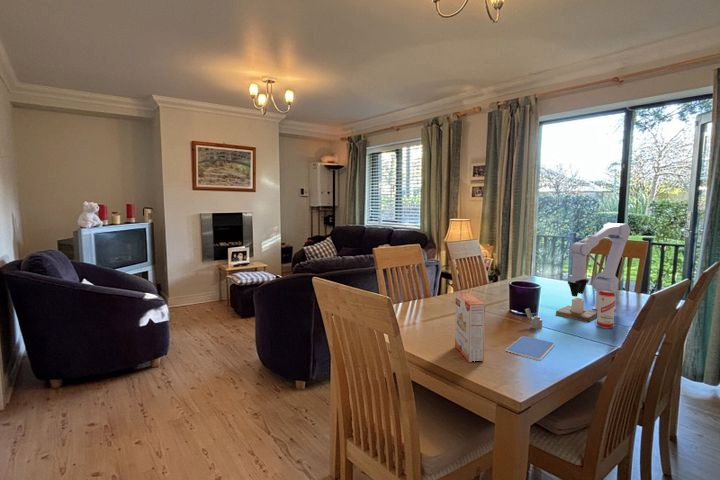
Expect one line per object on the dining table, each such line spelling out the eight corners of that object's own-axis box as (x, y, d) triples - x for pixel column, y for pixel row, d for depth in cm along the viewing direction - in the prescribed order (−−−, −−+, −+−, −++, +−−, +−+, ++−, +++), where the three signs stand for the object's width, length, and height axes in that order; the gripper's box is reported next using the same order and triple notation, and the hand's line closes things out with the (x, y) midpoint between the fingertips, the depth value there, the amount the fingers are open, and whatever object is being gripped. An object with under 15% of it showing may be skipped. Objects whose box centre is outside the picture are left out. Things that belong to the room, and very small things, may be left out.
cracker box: (453, 347, 143) (455, 293, 140) (469, 346, 143) (470, 293, 141) (467, 363, 129) (468, 303, 127) (484, 362, 129) (486, 303, 127)
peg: (574, 313, 184) (575, 297, 183) (583, 315, 180) (584, 299, 180) (571, 315, 181) (572, 299, 180) (580, 317, 178) (581, 300, 177)
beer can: (615, 329, 161) (618, 293, 159) (599, 328, 162) (602, 292, 161) (609, 324, 167) (611, 289, 166) (593, 323, 169) (596, 288, 167)
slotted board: (567, 309, 190) (567, 305, 190) (598, 315, 180) (599, 311, 180) (555, 314, 182) (556, 310, 181) (587, 321, 171) (588, 317, 171)
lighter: (542, 329, 162) (542, 311, 161) (540, 330, 161) (541, 311, 160) (525, 325, 167) (526, 307, 166) (523, 325, 166) (524, 308, 165)
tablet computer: (540, 362, 130) (540, 358, 130) (504, 352, 139) (504, 349, 139) (555, 346, 145) (555, 342, 145) (522, 338, 153) (522, 335, 153)
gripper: (575, 264, 189) (574, 290, 190) (564, 268, 179) (562, 295, 181) (591, 266, 183) (589, 293, 185) (580, 270, 174) (578, 298, 175)
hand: (577, 294), depth 182 cm, fingers open, 7 cm apart
